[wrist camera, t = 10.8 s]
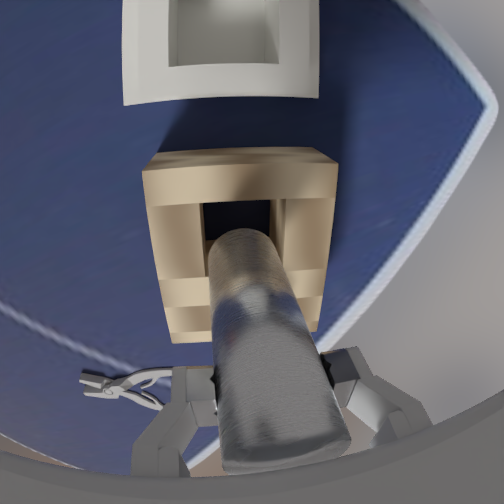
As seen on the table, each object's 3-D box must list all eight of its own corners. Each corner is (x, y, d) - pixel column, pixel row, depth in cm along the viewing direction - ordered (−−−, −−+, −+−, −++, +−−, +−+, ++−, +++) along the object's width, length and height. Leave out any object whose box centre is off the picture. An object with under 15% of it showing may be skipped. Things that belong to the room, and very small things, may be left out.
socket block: (176, 301, 29) (172, 343, 24) (156, 153, 22) (141, 171, 17) (300, 292, 30) (316, 331, 25) (312, 147, 23) (338, 163, 19)
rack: (127, 105, 20) (101, 111, 15) (127, -13, 15) (103, -40, 10) (314, 97, 21) (345, 101, 16) (314, -17, 16) (343, -42, 11)
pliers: (194, 419, 38) (89, 407, 35) (194, 409, 39) (91, 398, 36) (196, 377, 33) (72, 363, 30) (196, 367, 34) (75, 353, 32)
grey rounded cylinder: (210, 290, 19) (226, 484, 9) (205, 230, 17) (216, 441, 7) (275, 285, 19) (335, 467, 9) (277, 226, 17) (366, 416, 7)
